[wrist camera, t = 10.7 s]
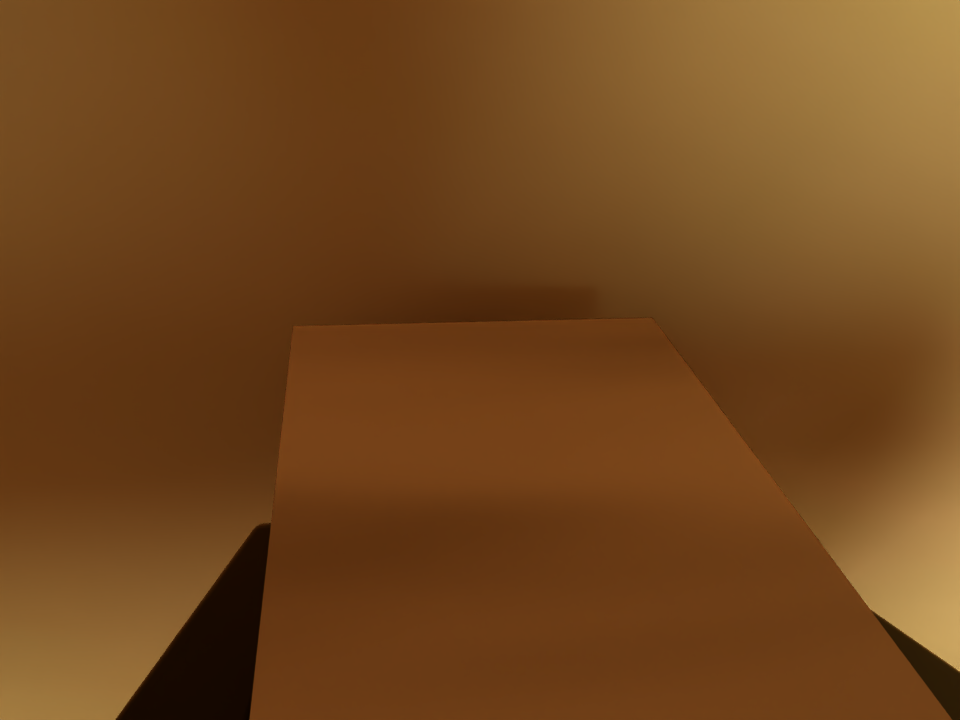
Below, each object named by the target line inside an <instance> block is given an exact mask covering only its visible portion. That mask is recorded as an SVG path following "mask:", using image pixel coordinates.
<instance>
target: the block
mask: <svg viewBox="0 0 960 720" xmlns="http://www.w3.org/2000/svg"><path fill="white" fill-rule="evenodd" d="M249 720H952V719H951V717H950V716H949V715H948V713H947V712H946V711H945V709H944V708H943V707H942V705H941V704H940V703H939V701H938V700H937V699H936V697H935V696H934V695H933V693H932V692H931V691H930V689H929V688H928V687H927V685H926V684H925V683H924V681H923V680H922V679H921V677H920V676H919V675H918V673H917V672H916V671H915V669H914V668H913V667H912V665H911V664H910V662H909V661H908V660H907V658H906V657H905V656H904V654H903V653H902V652H901V650H900V649H899V648H898V646H897V645H896V644H895V642H894V641H893V640H892V638H891V637H890V636H889V634H888V633H887V632H886V630H885V629H884V628H883V626H882V625H881V624H880V622H879V621H878V620H877V618H876V617H875V616H874V614H873V613H872V612H871V610H870V609H869V608H868V606H867V605H866V603H865V602H864V601H863V599H862V598H861V597H860V595H859V594H858V593H857V591H856V590H855V589H854V587H853V586H852V585H851V583H850V582H849V581H848V579H847V578H846V577H845V575H844V574H843V573H842V571H841V570H840V569H839V567H838V566H837V565H836V563H835V562H834V561H833V559H832V558H831V557H830V555H829V554H828V553H827V551H826V550H825V549H824V547H823V546H822V544H821V543H820V542H819V540H818V539H817V538H816V536H815V535H814V534H813V532H812V531H811V530H810V528H809V527H808V526H807V524H806V523H805V522H804V520H803V519H802V518H801V516H800V515H799V514H798V512H797V511H796V510H795V508H794V507H793V506H792V504H791V503H790V502H789V500H788V499H787V498H786V496H785V495H784V494H783V492H782V491H781V490H780V488H779V487H778V485H777V484H776V483H775V481H774V480H773V479H772V477H771V476H770V475H769V473H768V472H767V471H766V469H765V468H764V467H763V465H762V464H761V463H760V461H759V460H758V459H757V457H756V456H755V455H754V453H753V452H752V451H751V449H750V448H749V447H748V445H747V444H746V443H745V441H744V440H743V439H742V437H741V436H740V435H739V433H738V432H737V431H736V429H735V428H734V426H733V425H732V424H731V422H730V421H729V420H728V418H727V417H726V416H725V414H724V413H723V412H722V410H721V409H720V408H719V406H718V405H717V404H716V402H715V401H714V400H713V398H712V397H711V396H710V394H709V393H708V392H707V390H706V389H705V388H704V386H703V385H702V384H701V382H700V381H699V380H698V378H697V377H696V376H695V374H694V373H693V372H692V370H691V369H690V367H689V366H688V365H687V363H686V362H685V361H684V359H683V358H682V357H681V355H680V354H679V353H678V351H677V350H676V349H675V347H674V346H673V345H672V343H671V342H670V341H669V339H668V338H667V337H666V335H665V334H664V333H663V331H662V330H661V329H660V327H659V326H658V325H657V323H656V322H655V321H654V319H653V318H615V319H572V320H529V321H486V322H443V323H400V324H358V325H315V326H293V331H292V340H291V349H290V358H289V367H288V376H287V385H286V394H285V403H284V412H283V421H282V430H281V439H280V448H279V457H278V466H277V475H276V484H275V493H274V502H273V511H272V520H271V529H270V538H269V548H268V557H267V566H266V575H265V584H264V593H263V602H262V611H261V620H260V629H259V638H258V647H257V656H256V665H255V674H254V683H253V692H252V701H251V710H250V719H249Z"/></svg>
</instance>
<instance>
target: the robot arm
mask: <svg viewBox="0 0 960 720" xmlns="http://www.w3.org/2000/svg"><path fill="white" fill-rule="evenodd" d="M270 529H271V523H263V524H259V525H258V526H256V527H255V528H254V529H253V531H252V532H251V533H250V535H249V536H248V538H247V539H246V540H245V542H244V543H243V544H242V546H241V547H240V549H239V550H238V551H237V553H236V554H235V555H234V557H233V558H232V560H231V561H230V562H229V564H228V565H227V566H226V568H225V569H224V571H223V572H222V573H221V575H220V576H219V578H218V579H217V580H216V582H215V583H214V584H213V586H212V587H211V589H210V590H209V591H208V593H207V594H206V595H205V597H204V598H203V600H202V601H201V602H200V604H199V605H198V606H197V608H196V609H195V611H194V612H193V613H192V615H191V616H190V618H189V619H188V620H187V622H186V623H185V624H184V626H183V627H182V629H181V630H180V631H179V633H178V634H177V635H176V637H175V638H174V640H173V641H172V642H171V644H170V645H169V646H168V648H167V649H166V651H165V652H164V653H163V655H162V656H161V657H160V659H159V660H158V662H157V663H156V664H155V666H154V667H153V669H152V670H151V671H150V673H149V674H148V675H147V677H146V678H145V680H144V681H143V682H142V684H141V685H140V686H139V688H138V689H137V691H136V692H135V693H134V695H133V696H132V697H131V699H130V700H129V702H128V703H127V704H126V706H125V707H124V709H123V710H122V711H121V713H120V714H119V715H118V717H117V718H116V720H249V719H250V710H251V701H252V692H253V683H254V674H255V665H256V656H257V647H258V638H259V629H260V620H261V611H262V602H263V593H264V584H265V575H266V566H267V557H268V548H269V538H270ZM871 612H872V613H873V614H874V616H875V617H876V618H877V620H878V621H879V622H880V624H881V625H882V626H883V628H884V629H885V630H886V632H887V633H888V634H889V636H890V637H891V638H892V640H893V641H894V642H895V644H896V645H897V646H898V648H899V649H900V650H901V652H902V653H903V654H904V656H905V657H906V658H907V660H908V661H909V662H910V664H911V665H912V667H913V668H914V669H915V671H916V672H917V673H918V675H919V676H920V677H921V679H922V680H923V681H924V683H925V684H926V685H927V687H928V688H929V689H930V691H931V692H932V693H933V695H934V696H935V697H936V699H937V700H938V701H939V703H940V704H941V705H942V707H943V708H944V709H945V711H946V712H947V713H948V715H949V716H950V717H951V719H952V720H960V671H958V670H957V669H955V668H954V667H952V666H951V665H949V664H948V663H947V662H945V661H944V660H942V659H941V658H939V657H938V656H937V655H935V654H934V653H932V652H931V651H929V650H928V649H926V648H925V647H924V646H922V645H921V644H919V643H918V642H916V641H915V640H913V639H912V638H911V637H909V636H908V635H906V634H905V633H903V632H902V631H900V630H899V629H898V628H896V627H895V626H893V625H892V624H890V623H889V622H887V621H886V620H885V619H883V618H882V617H880V616H879V615H877V614H876V613H875V612H873V611H872V610H871Z"/></svg>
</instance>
